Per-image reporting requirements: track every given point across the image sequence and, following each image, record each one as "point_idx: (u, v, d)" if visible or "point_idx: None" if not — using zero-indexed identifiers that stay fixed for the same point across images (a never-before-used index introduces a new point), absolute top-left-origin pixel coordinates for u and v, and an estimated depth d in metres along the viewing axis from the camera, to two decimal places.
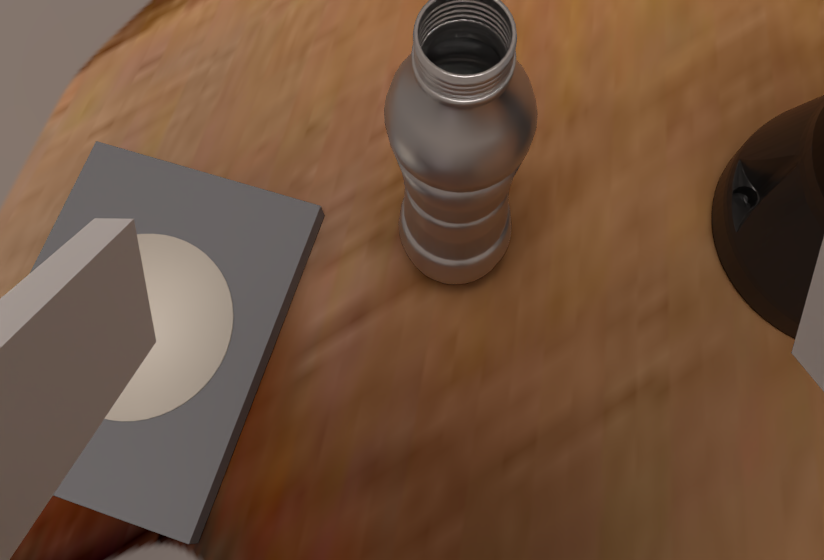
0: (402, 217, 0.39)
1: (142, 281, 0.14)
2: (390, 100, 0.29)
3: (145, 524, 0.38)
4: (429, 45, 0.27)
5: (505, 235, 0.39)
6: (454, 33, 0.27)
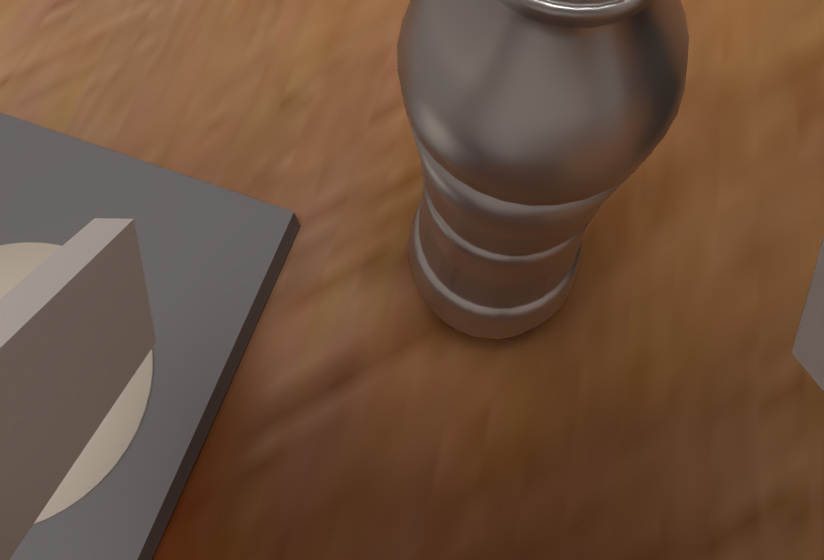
0: (415, 236, 0.26)
1: (143, 281, 0.14)
2: (411, 22, 0.15)
3: None
4: None
5: (574, 271, 0.25)
6: None
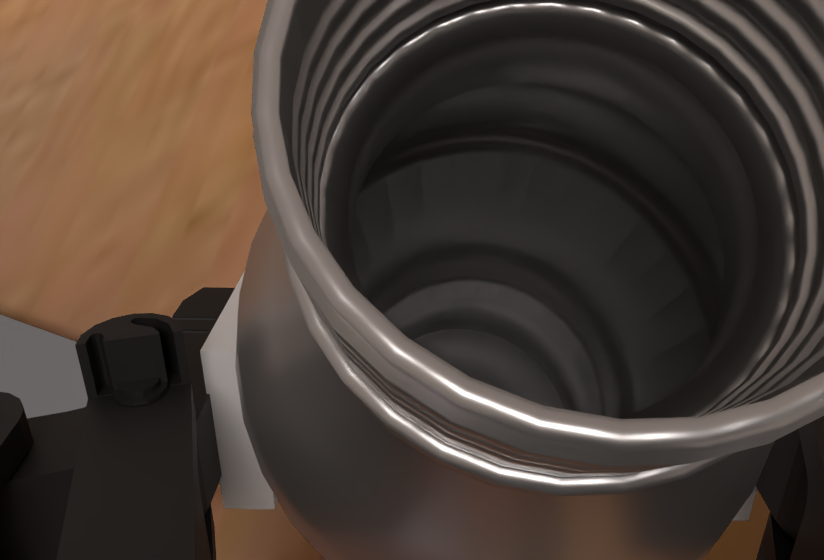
0: None
1: None
2: (243, 306, 0.08)
3: None
4: (384, 120, 0.06)
5: None
6: (501, 66, 0.06)
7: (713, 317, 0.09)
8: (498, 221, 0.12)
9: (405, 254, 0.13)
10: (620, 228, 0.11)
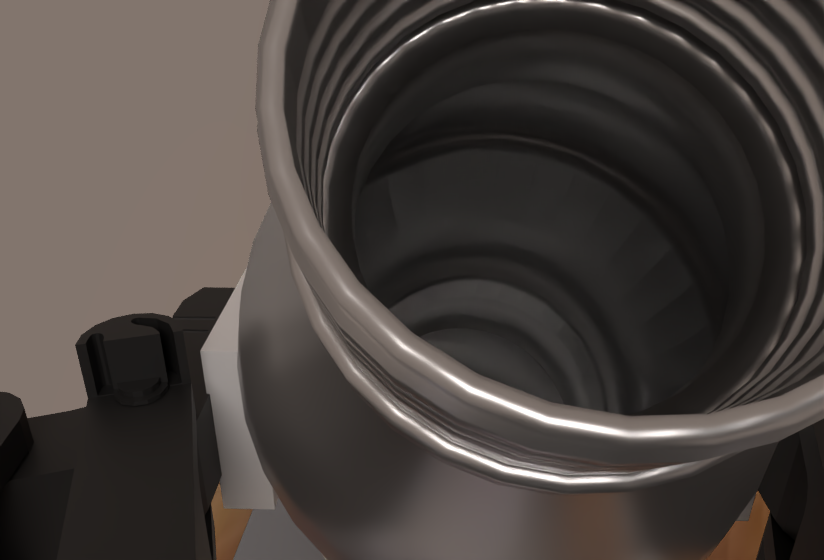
0: None
1: None
2: (244, 305, 0.08)
3: None
4: (387, 116, 0.06)
5: None
6: (505, 62, 0.06)
7: (716, 316, 0.09)
8: (500, 220, 0.12)
9: (407, 253, 0.13)
10: (623, 227, 0.11)
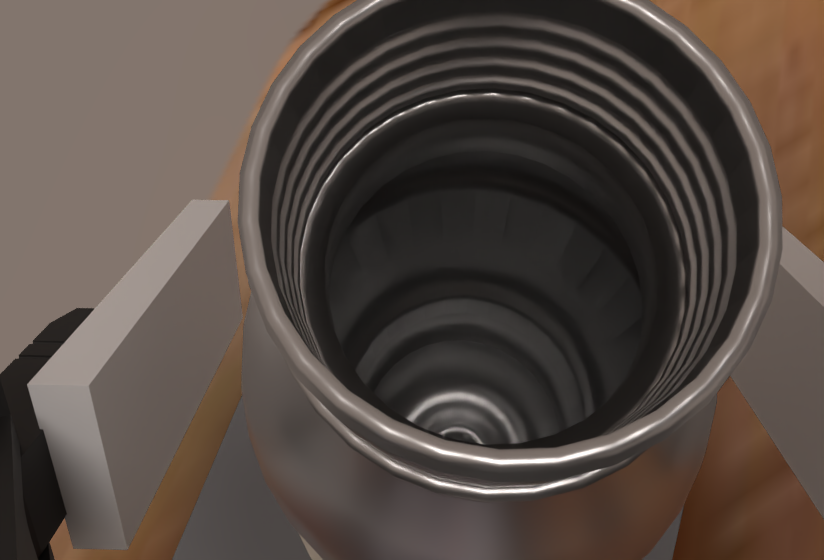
0: None
1: (233, 259, 0.15)
2: (246, 338, 0.09)
3: None
4: (356, 192, 0.07)
5: None
6: (455, 141, 0.07)
7: None
8: (482, 247, 0.13)
9: (398, 278, 0.14)
10: (589, 256, 0.12)
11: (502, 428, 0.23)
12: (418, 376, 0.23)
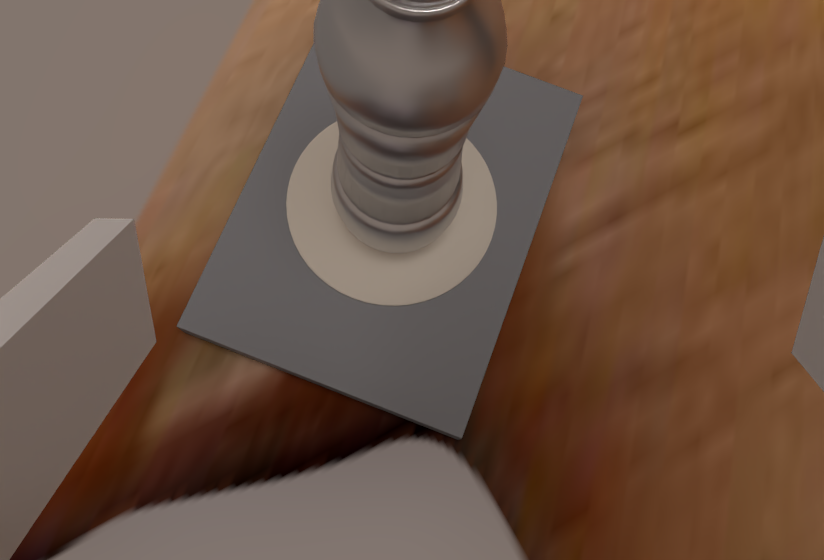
0: (335, 168, 0.33)
1: (142, 281, 0.14)
2: (322, 9, 0.22)
3: (413, 415, 0.35)
4: None
5: (455, 199, 0.33)
6: None
7: None
8: None
9: None
10: None
11: None
12: None
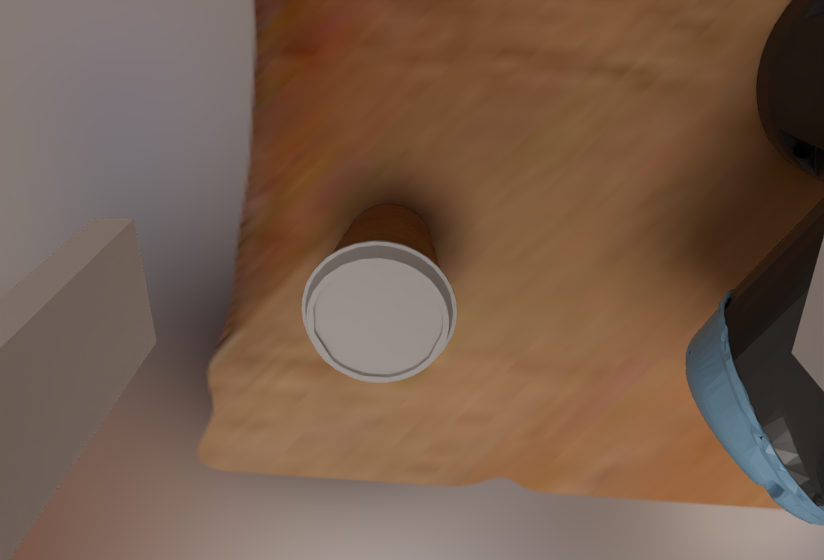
0: None
1: (143, 281, 0.14)
2: None
3: None
4: None
5: None
6: None
7: None
8: None
9: None
10: None
11: None
12: None
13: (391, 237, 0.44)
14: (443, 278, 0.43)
